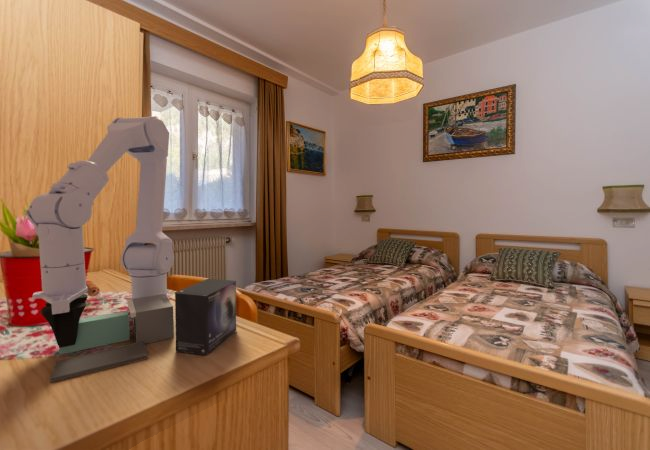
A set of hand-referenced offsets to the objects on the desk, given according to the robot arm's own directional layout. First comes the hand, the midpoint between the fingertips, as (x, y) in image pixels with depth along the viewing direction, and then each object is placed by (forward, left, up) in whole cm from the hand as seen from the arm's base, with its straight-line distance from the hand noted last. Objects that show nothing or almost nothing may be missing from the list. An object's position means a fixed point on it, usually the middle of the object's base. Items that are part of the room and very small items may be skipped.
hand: (68, 342), depth 54 cm
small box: (+10, +21, -2) cm, 23 cm away
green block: (0, +4, -1) cm, 4 cm away
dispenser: (0, +13, -1) cm, 13 cm away
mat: (+8, +5, -1) cm, 9 cm away
